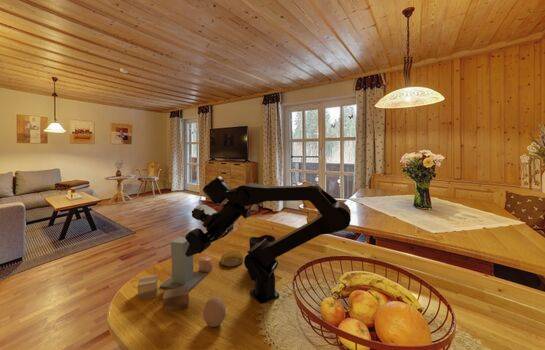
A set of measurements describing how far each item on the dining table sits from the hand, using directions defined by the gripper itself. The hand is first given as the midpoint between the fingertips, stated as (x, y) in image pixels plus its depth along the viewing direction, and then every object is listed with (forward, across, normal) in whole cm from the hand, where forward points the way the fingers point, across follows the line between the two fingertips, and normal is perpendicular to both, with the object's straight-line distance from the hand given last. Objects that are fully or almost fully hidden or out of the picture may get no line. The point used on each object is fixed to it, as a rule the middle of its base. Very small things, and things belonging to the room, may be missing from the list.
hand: (195, 249), depth 73 cm
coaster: (+11, 0, +4) cm, 12 cm away
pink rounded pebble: (+9, -8, +6) cm, 14 cm away
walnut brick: (+7, +11, +9) cm, 16 cm away
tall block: (+11, 0, +4) cm, 12 cm away
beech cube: (+15, +9, 0) cm, 18 cm away
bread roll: (+5, -17, +11) cm, 21 cm away
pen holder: (-4, -16, +19) cm, 26 cm away
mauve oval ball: (-2, +14, +18) cm, 23 cm away
